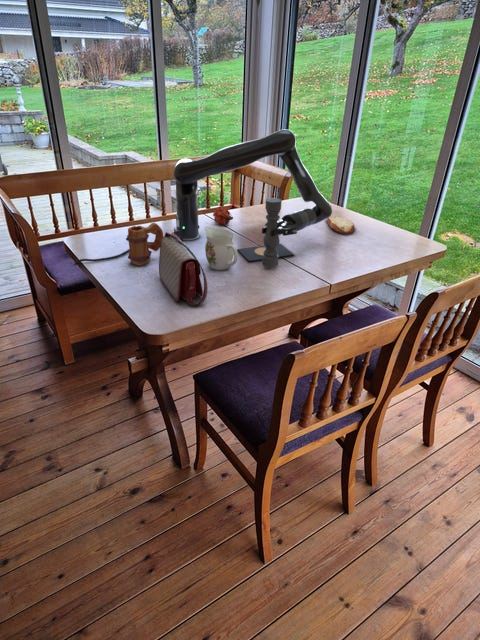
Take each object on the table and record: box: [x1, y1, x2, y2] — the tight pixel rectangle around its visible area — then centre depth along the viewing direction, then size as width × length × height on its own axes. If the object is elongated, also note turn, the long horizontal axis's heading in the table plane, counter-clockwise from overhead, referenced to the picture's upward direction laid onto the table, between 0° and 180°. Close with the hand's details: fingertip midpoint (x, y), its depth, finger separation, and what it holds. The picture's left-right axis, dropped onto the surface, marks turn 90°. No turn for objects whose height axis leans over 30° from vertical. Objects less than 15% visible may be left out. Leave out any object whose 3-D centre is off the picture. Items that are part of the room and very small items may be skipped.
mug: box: [125, 222, 164, 266], centre depth 175 cm, size 15×8×15 cm, turn 117°
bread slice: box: [326, 215, 356, 236], centre depth 217 cm, size 18×18×4 cm
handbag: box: [158, 231, 208, 306], centre depth 153 cm, size 28×11×17 cm, turn 25°
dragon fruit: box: [212, 205, 234, 226], centre depth 218 cm, size 8×8×12 cm
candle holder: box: [261, 197, 282, 268], centre depth 169 cm, size 6×6×25 cm
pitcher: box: [204, 226, 239, 271], centre depth 172 cm, size 11×18×14 cm, turn 41°
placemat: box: [236, 243, 295, 263], centre depth 188 cm, size 20×13×1 cm, turn 111°
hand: (266, 232), depth 167 cm, fingers closed on candle holder, 3 cm apart
